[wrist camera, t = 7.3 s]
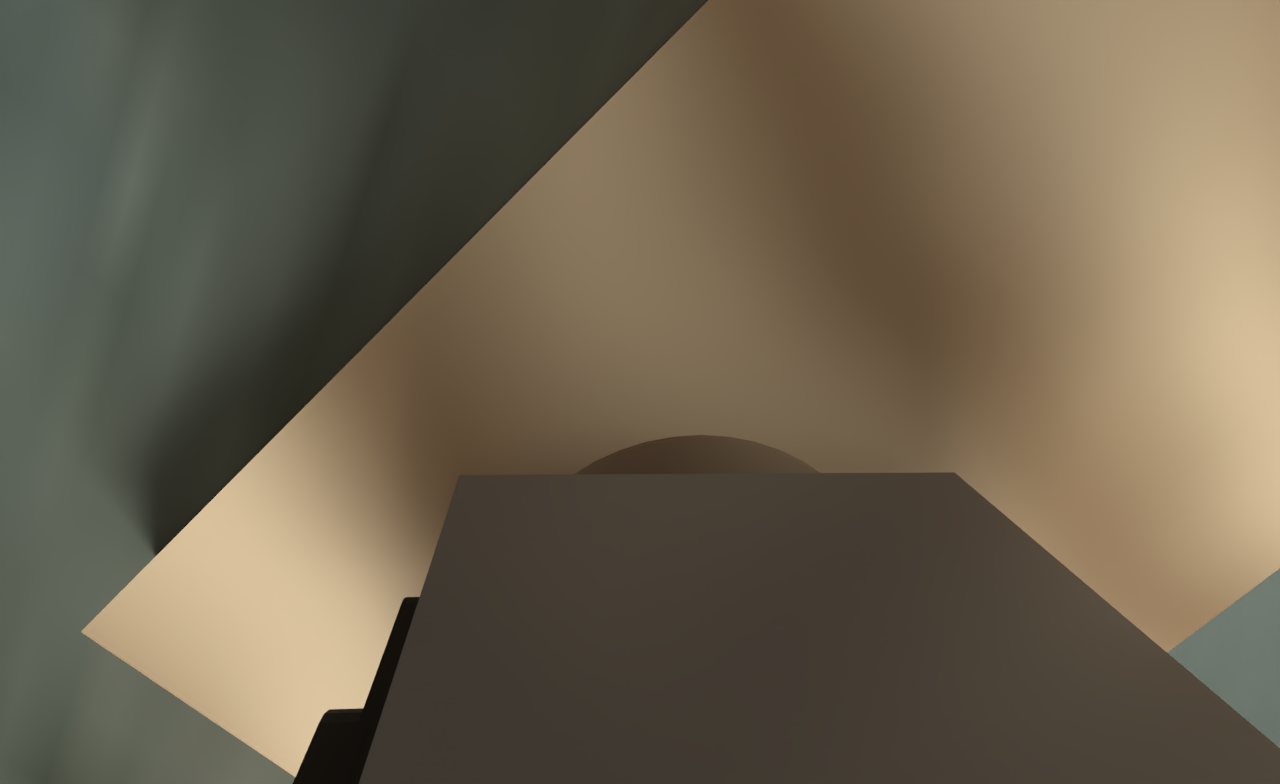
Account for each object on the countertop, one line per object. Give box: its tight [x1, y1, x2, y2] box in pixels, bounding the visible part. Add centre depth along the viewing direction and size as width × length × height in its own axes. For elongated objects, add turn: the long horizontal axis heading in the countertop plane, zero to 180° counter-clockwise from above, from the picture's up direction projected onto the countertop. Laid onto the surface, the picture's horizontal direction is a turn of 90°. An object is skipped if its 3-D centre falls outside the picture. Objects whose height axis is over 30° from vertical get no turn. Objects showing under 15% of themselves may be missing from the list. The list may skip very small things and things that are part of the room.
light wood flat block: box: [81, 0, 1280, 777], centre depth 10 cm, size 24×12×6 cm, turn 133°
